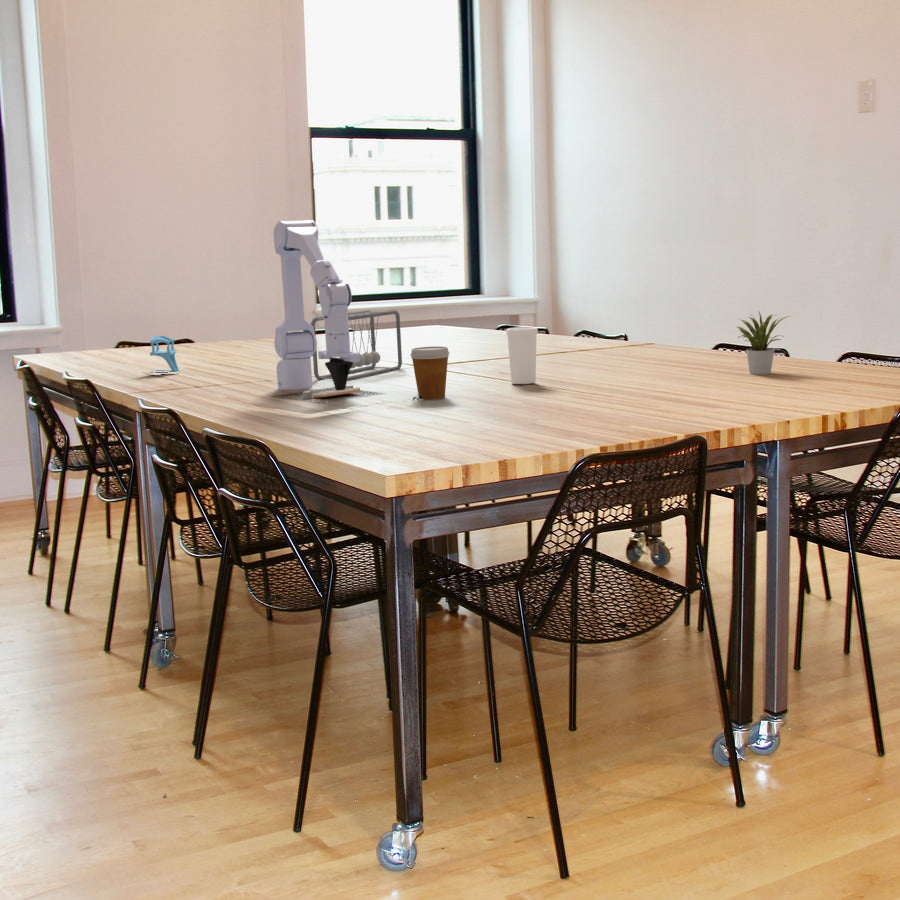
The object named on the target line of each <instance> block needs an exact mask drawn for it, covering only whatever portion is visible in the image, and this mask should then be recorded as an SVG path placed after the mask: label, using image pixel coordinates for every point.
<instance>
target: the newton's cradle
mask: <svg viewBox="0 0 900 900" xmlns="http://www.w3.org/2000/svg"><path fill="white" fill-rule="evenodd" d="M389 315H395V325H396V341H397V342H396V343H397V344H396V345H397V347H396V348H397V365H396V366H393V367H391V366H386V367H385V366H376V365H377V364H378V363H379V362H380V360H381V355H380V352H378V351H377V350H376V349H377V348H376V345H377V344H376V343H377V342H376V341H377V339H376V336H377V333H378V329H376V330H375V317H382V316H389ZM368 318H369V327H368V325H366V328H367V332H368V337H367V343H369V342H370V347H371V352H368V351H369V350H368V349H369V346H367V348H366V349H365V344H364V338H363V336H362V335H363V331H362V328H363V327H364V326H363V324H364V321H362V323H361V325H362V326H361V325H360V320H361V319H362V320H363V319H365V322H366V324H368V322H367V319H368ZM352 320H353V321H354V322H356V321H358V326H359V332H360V338H361V341H360V343H359V349H361V348H362V347H361V345H362V344H363V350H364V353H362V354H361V351H359V352H358V348H357V344H356V338H355V330H356V324H354V326H353V325H352ZM320 321H321V322H322V321H325V320H324V315H322V316H315V317H313V318H312V320H311V323H310V324H311V325H312V326H313V327H314V333H315V336H316V337H317V334H316V323H317V322H320ZM348 321H349V323H350V326H351V327H354V328H351V329H352V330H351V331H352V335H353V337H352V342H354V344H355V345H352V347H351V352H354V351H353V349H354V346H355V349H356V353H359V355H360V361H359V362H353V365H352V367H351V369H350V371H349V374H348V375H351V373H352V374H356V373H359V374H356V375H351V376H348V378H347V382H348V381H349V382H350V381H354V380H357V379H362V378H367V377H371V376H376V375H380V374H381V375H382V374H385V373H390V372H394V371H399V370H400V369H401V367H402V366H403V359H402V358H403V357H402V334H401V333H402V332H401V315H400V313H399V312H398V310H396V309H395V310H394V309H391V310H385V311H384V310H382V311H380V310H379V311H371V310H370V309H369V310H368V309H367V310H361V311H360V310H359V311H354V312H353V311H351V312H348ZM378 323H379V319H377V321H376V326H378V325H379V324H378ZM317 351H318V350H317V348H316V351H315V352H314V354H313V356H312V360H313V363H312V365H313V376H314V378H315V379H316V380H318V381H322V380H333V379H332V376H331V374H330V373H329V374H324V375H319V367H318V352H317ZM339 358H341V357H339ZM356 367H357V368H356ZM374 369H379V370H374ZM365 370H366V371H369V370H374V371H369V372H366V371H365ZM364 371H365V372H364ZM361 372H364V373H361Z"/></svg>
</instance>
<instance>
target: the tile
mask: <svg viewBox="0 0 900 900" xmlns="http://www.w3.org/2000/svg"><path fill="white" fill-rule="evenodd" d="M360 390H361V387H353V388H348V389H345V390H338V391H336V390H334V391H331V390H330V391H328V390H327V391H326V392H323V391H322V392H321V391H320V392H317V393H315V392H314V393H313V394H312V396H313V398H314V399H315V398H320V397H321V398H325V397H326V398H328V397H333V396H334V395H337V396H341V395H342V394H344V395H345V394H347V393H349V394H352V393H353V394H355V393H354V392H360ZM360 393H361V392H360ZM347 395H348V394H347Z"/></svg>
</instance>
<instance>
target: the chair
mask: <svg viewBox="0 0 900 900" xmlns="http://www.w3.org/2000/svg"><path fill="white" fill-rule="evenodd" d="M175 341H176V340H175V339H173V338H169V337H167V336H164V335H162V336H156V335H154V336H152V337H150V340H149V343H150V346H151V352H149V355H150V356H156V357H161V358H163V359H164V361H166V363H167V365H168V366H169V369H157V370H156V369H155V370H153V371H151V372H149V373H153V372H155V371H169V372H177V371H179V372H180V369H179V366H178V364H177V360H176V357H175V354H177V350H176V349H175V347H174V346H175V345H174V344H175ZM159 343H165V344H166V350H160V346H159ZM155 347H156V348H155ZM170 349H171V350H170ZM155 373H168V372H155Z"/></svg>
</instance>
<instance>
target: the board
mask: <svg viewBox="0 0 900 900" xmlns="http://www.w3.org/2000/svg"><path fill="white" fill-rule="evenodd" d="M348 388H354V385H351V384H349V385H346V388H345V389H348ZM334 390H336V389H335V386H334V387H328V388H327V387H326V388H319V389H314V390H307V391H305V390H304V391H301V392H300V391H298V392H294V393H293V392H291V393H285V394H279V395H278V394H276V395H272V396H270V397H272V398H275V399H284V400H285V399H286V400H294V401H297V402H298V401H300V402H306V403H307V402H308V403H312V402H313V400H315V402H318V404H321V402H325V399H327V400H329V402H330V403H332V402H338V401H339V402H341V401H346V400H353V399H354V398H355V399H358V398H361V396H362V395H363V398H365V397H367V398H368V396H370V394H371V396H378V395H386V393H384V392H377V391H369V390H368V391H367V390H361V389H360V392H354V393H347V394H340V395H333V396H332V397H315V398H313V396H312V394H313V393H320V392H327V391H334ZM354 394H355V395H354Z"/></svg>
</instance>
